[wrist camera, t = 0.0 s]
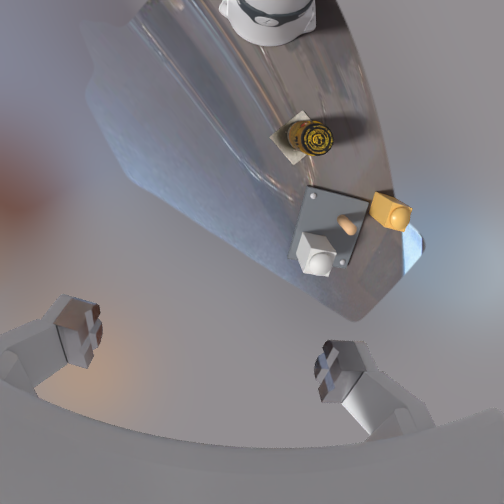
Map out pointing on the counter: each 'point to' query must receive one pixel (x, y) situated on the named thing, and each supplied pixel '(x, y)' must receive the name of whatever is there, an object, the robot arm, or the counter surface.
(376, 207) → the yellow knob block
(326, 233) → the plate
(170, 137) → the counter surface
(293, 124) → the condiment
